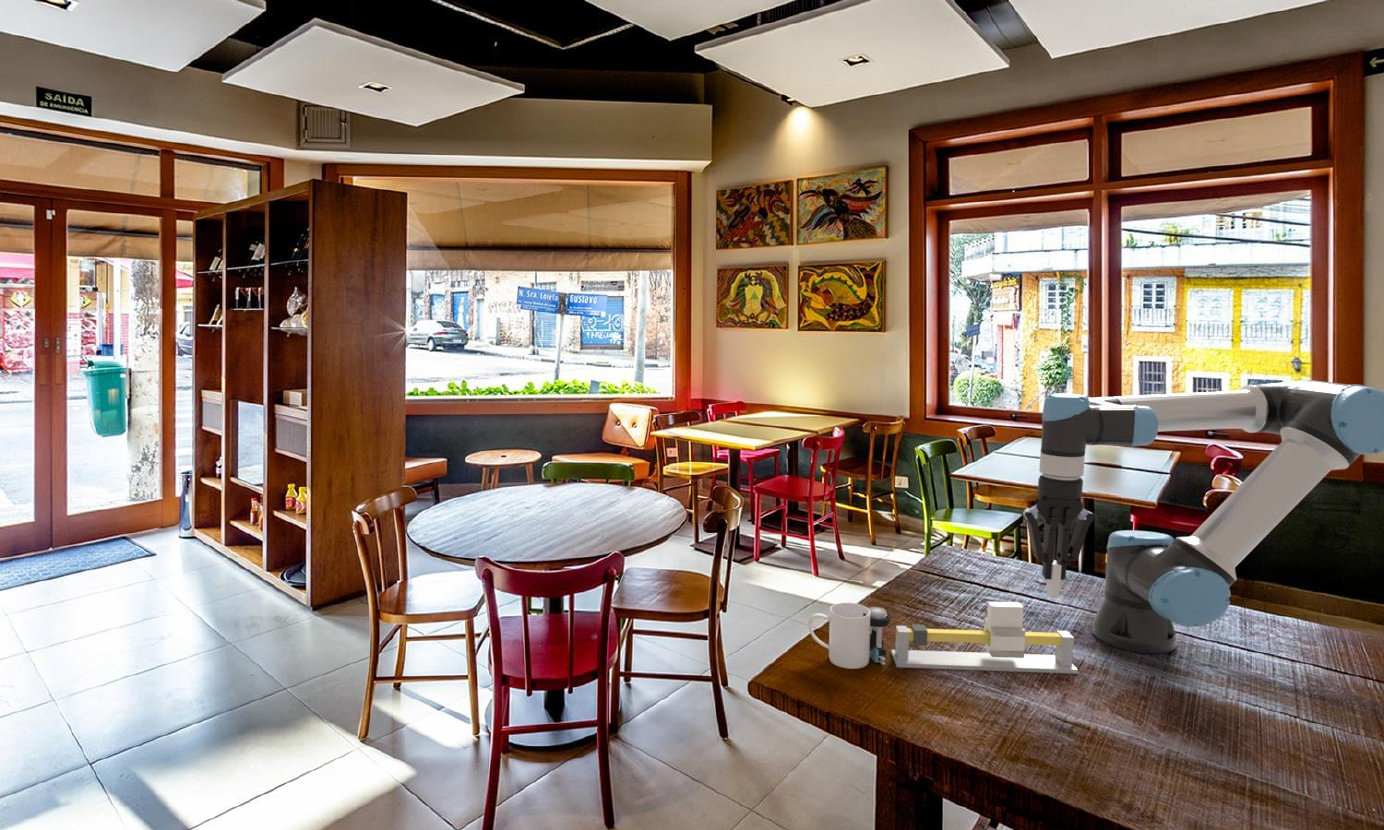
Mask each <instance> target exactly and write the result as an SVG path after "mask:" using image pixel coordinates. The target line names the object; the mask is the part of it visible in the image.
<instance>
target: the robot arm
mask: <svg viewBox="0 0 1384 830" xmlns="http://www.w3.org/2000/svg"><path fill="white" fill-rule="evenodd" d="M1041 421H1042V423H1041V424H1042V425H1041V441H1040V443H1041V444H1040V445H1041V446H1040V454H1039V456H1040V457H1039V468H1038V469H1039V473H1040V475H1039V476H1038V484H1037V498H1036V500H1035V502H1034V505H1033V506H1031V507H1030V508H1023V509H1022V510H1021V515H1022V516H1023V517H1024V519H1025V521H1026V525H1027V530H1028V534H1029V535H1028V536H1029V540H1030V546H1031V550H1032V554H1033V556H1034V557H1035V558H1036V560H1038V561H1041V562H1042V571H1041V573H1042V576H1043V578H1044V579H1045V580H1046V586H1045V593H1046V594H1047V595H1048V596H1049V597H1050V598H1056V599H1057V598H1058V599H1060V591H1061V581H1065V579H1066V578H1067V577H1066V575H1067V566H1069V565H1070V562H1071V563H1072V562H1077V561H1078V560H1079V557H1080V554H1081V551H1082V548H1083V545H1084V541H1085V539H1086V536H1087V533H1088V530H1089V527H1090V526H1091V524H1092V523H1093V522H1094V520H1095V519H1096V515H1095V514H1094V513H1093V512H1091V511H1089V510H1087V509H1085V508H1084V504H1083V502H1082V497H1083V487H1084V486H1083V485H1084V480H1083V479H1082V477H1083V476H1084V473H1085V472H1084V471H1085V459H1086V458H1085V456H1086V448H1087V446H1114V447H1115V446H1116V447H1117V446H1122V447H1123V446H1125V447H1131V448H1134V447H1140V446H1148V445H1150V444H1152V443H1153V442H1154V441H1155V439H1156V438H1157V435H1158V432H1176V431H1177V432H1178V431H1179V432H1180V431H1202V430H1204V431H1205V430H1224V429H1226V430H1228V429H1242V430H1243V431H1244V432H1246V433H1249V434H1254V433H1255V434H1257V433H1265V434H1266V433H1267V434H1274V435H1280V438H1281V442H1280V443H1279V444H1278V445H1277V446H1275V448H1274V449H1273V450H1272V451H1271V452H1270V453H1269V454H1268V456H1266V458H1265V459H1264V460H1262V462H1261V463H1259V465H1258V466H1257V467H1256V468H1255V469H1254V470H1253V471H1252V472H1251V473H1250V474H1249V475H1248V476H1247V477H1246V478H1245V479H1244V480H1243V481H1241V482H1242V483H1240V485H1238V486H1237V488H1236V489H1234V491H1232V493H1231V494H1229V496H1227V498H1226V499H1225V500H1223V502H1222V503H1221V504H1220V505H1219V506H1218V507H1217V508H1216V509H1215V510H1214V511H1213V512H1212V513H1211V514H1210V515H1209V517H1207V519H1206V520H1205V521H1203V522H1202V523H1201V525H1200V526H1199V527H1198V528H1197V529H1196V530H1195V531H1193V533H1192V534H1191V535H1189V536H1177V537H1176V538H1173V536H1171V535H1168V534H1166V533H1162V532H1161V533H1160V532H1155V531H1146V530H1133V529H1132V530H1131V529H1130V530H1128V529H1127V530H1117V531H1114V532H1112V533H1110V535H1109V536H1108V542H1107V546H1106V564H1105V565H1106V566H1105V578H1104V579H1105V582H1104V595H1103V600H1102V602H1101V604H1100V605H1099V608H1098V610H1097V612H1096V614H1095V617H1094V618H1093V621H1092V633H1093V635H1094V636H1095V637H1096V638H1097V639H1099V640H1100V641H1102V642H1104V643H1105V644H1108V645H1109V646H1113V647H1115V648H1118V649H1121V650H1124V651H1125V650H1126V651H1129V652H1134V653H1139V654H1151V655H1152V654H1153V655H1156V654H1158V655H1159V654H1166V653H1170V652H1172V651H1174V650H1175V649H1176V646H1177V644H1176V643H1177V634H1176V630H1175V628H1174V624H1176V625H1180V626H1184V627H1189V628H1190V627H1202V626H1203V627H1204V626H1207V625H1209V624H1211V623H1214V622H1216V621H1217V620H1219V619H1220V618H1221V617H1222V616H1224V614H1225V613H1226V612H1227V610H1228V609H1229V607H1230V604H1231V600H1230V597H1231V596H1232V595H1231V590H1230V587H1231V586H1232V585H1233V584H1234V583H1235V582H1236V581H1237V574H1236V567H1237V566H1238V565H1239V564H1240V563H1242V562H1243V560H1244V559H1245V558H1246V557H1247V556H1248V555H1249V554H1250V553H1251V552H1252V551H1253V550H1254V549H1255V548H1256V547H1257V546H1258V545H1259V544H1260V542H1262V541H1263V540H1264V538H1266V537H1267V535H1269V534H1270V532H1272V530H1273V529H1275V527H1276V526H1278V525H1279V523H1280V522H1281V521H1282V520H1283V519H1285V517H1286V516H1288V514H1289V513H1290V512H1292V510H1293V509H1294V508H1296V506H1297V505H1298V504H1299V503H1300V502H1301V501H1302V500H1303V499H1304V498H1305V497H1307V495H1308V494H1309V493H1311V491H1312V490H1313V489H1314V488H1315V487H1316V486H1317V485H1318V484H1319V483H1320V482H1321V481H1322V480H1323V478H1325V477H1326V475H1328V474H1329V472H1331V471H1336V470H1346V469H1348V468H1349V467H1350V466H1351V465H1352V464H1353V463H1354V462H1355V461H1356V460H1357V458H1359V457H1360V456H1361V455H1373V454H1379V453H1382V452H1384V390H1381V389H1379V388H1374V387H1371V386H1370V387H1369V386H1366V385H1363V384H1356V383H1355V384H1346V383H1339V382H1330V381H1323V380H1313V379H1303V380H1302V379H1301V380H1300V379H1299V380H1291V381H1281V382H1274V383H1273V382H1271V383H1263V384H1248V385H1244V386H1242V387H1241V388H1240V389H1239V390H1227V391H1226V390H1225V391H1223V390H1222V391H1208V392H1207V391H1206V392H1205V391H1203V392H1186V393H1165V394H1161V393H1160V394H1159V393H1158V394H1142V395H1141V394H1140V395H1122V396H1120V395H1119V396H1099V397H1092V396H1088V395H1084V394H1078V393H1077V394H1076V393H1062V392H1061V393H1051V394H1049V395H1047V396H1046V397H1045V399H1044V404H1043V408H1042V416H1041ZM1038 514H1039V515H1040V517H1042V520H1043V526H1044V528H1043V529H1044V530H1043V544H1042V539H1041V534H1040V529H1039V528H1040V527H1039V524H1038V521H1037V519H1038V517H1039V516H1038ZM1076 518H1078V519H1077V521H1076V525H1075V526H1074V529H1073V532H1072V535H1071V539H1070V534H1071V530H1072V524H1073V521H1074V520H1075V519H1076ZM1056 534H1057V539H1056ZM1056 540H1057V543H1056ZM1055 546H1056V559H1055ZM1054 559H1055V560H1054ZM1173 623H1174V624H1173Z"/></svg>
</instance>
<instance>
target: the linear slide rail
mask: <svg viewBox="0 0 1384 830" xmlns="http://www.w3.org/2000/svg"><path fill="white" fill-rule="evenodd" d="M896 628H897V630H898V639H897V637H896V636H895V643H894V644H895V648H894V649H891V650H890V651H891V656H892V659H893V662H894V663H895V667H896V668H904V669H905V668H908V669H910V668H911V669H935V670H936V669H937V670H939V669H940V670H964V671H965V670H966V671H971V670H972V671H987V672H988V671H990V672H993V671H995V672H996V671H997V672H1019V673H1023V672H1024V673H1049V674H1075V675H1078V674H1079V669H1078V667H1076V666H1075V664H1073V656H1074V640H1075V637H1074V636H1073V635H1072V634H1071V633H1070V632H1069V631H1068V630H1056V633H1059V634H1060V636H1061V637H1062V641H1061V646H1056V645H1055V654H1031V653H1030V654H1029V653H1028V654H1027V653H1024V658H1007V657H991V655H990V654H989V652H974V651H973V652H972V651H970V652H969V651H967V652H966V651H946V650H945V651H944V650H943V651H942V650H941V651H940V650H919V649H918V650H917V649H916V650H915V649H914V650H913V649H909V646H910V641H909V631H908V629H907V628H908V627H907V625H895V629H896Z"/></svg>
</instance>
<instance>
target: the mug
mask: <svg viewBox="0 0 1384 830" xmlns="http://www.w3.org/2000/svg"><path fill="white" fill-rule="evenodd" d="M863 613H864V614H866V616H863ZM817 618H822V619H824V620H826V621H827V622H829V632H828V633H829V634H828V635H829V639H828V644H827V643H826V642H823V641H822V640H820V639H819V638H818V636H817V635H816V634H815V632H814V631H813V624H812V623H813V622H814V620H815V619H817ZM807 624H808V631H809V633H810V635H811V637H812V638H813V640H814V641H815V642H816V643H817V644H818V645H820V646H822V647H823V648H825V649H826V650H828V658H829V661H830V663H831V664H833V665H835V666H837V667H839V668H843V669H849V670H854V669H855V670H856V669H861V668H864V667H866V666H867V665H869V663H870V658H869V650H870V631H871V626H870V610H869V607H867V606H865V605H863V604H859V603H854V602H839V603H835V604H833V605H831V606H830V607H829V616H828V615H826V614H824V613H821V612H820V613H819V612H818V613H813V614H812V615H810V617H809V619H808V623H807Z"/></svg>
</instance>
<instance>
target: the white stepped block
mask: <svg viewBox="0 0 1384 830" xmlns="http://www.w3.org/2000/svg"><path fill="white" fill-rule="evenodd" d="M1024 610H1025V609H1024V605H1022V604H1021V602H1019V601H1018V602H1015V601H1014V602H1013V601H1012V602H1011V601H987V611H986V617H984V618H983V619H984V620H983V621H984V622H983V625H984V626H983V631H989V632H990V633H991V634H990V643H982V645H983V646H984V648H985V649H986V650H987V653H989V654H990V655H991V657H1007V658H1024V654H1025V648H1026V647H1025V646H1026V645H1025V632H1026V629H1025V628H1024V627H1023V625H1024V623H1023V622H1024Z"/></svg>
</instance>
